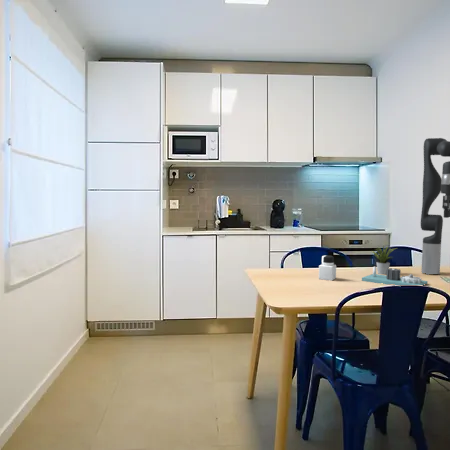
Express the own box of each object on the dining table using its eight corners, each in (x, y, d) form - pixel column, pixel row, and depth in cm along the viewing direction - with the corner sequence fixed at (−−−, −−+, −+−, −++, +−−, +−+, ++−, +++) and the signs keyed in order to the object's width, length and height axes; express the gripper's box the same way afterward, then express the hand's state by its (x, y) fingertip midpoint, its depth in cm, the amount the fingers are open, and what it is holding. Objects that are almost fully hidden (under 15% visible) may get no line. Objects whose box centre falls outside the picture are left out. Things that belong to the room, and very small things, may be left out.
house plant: (393, 271, 234) (395, 243, 233) (402, 276, 220) (403, 246, 219) (368, 270, 235) (369, 242, 234) (374, 275, 221) (375, 245, 220)
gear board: (373, 276, 218) (373, 264, 217) (427, 284, 200) (428, 270, 199) (361, 280, 206) (362, 267, 206) (418, 288, 189) (418, 274, 188)
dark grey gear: (389, 277, 208) (389, 267, 207) (401, 279, 203) (402, 269, 203) (384, 279, 203) (384, 269, 203) (397, 281, 199) (398, 271, 198)
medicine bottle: (336, 278, 212) (336, 255, 211) (332, 280, 205) (332, 257, 205) (322, 276, 215) (323, 254, 214) (318, 279, 209) (319, 256, 208)
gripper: (445, 184, 203) (443, 216, 204) (437, 183, 192) (435, 217, 193) (462, 184, 198) (460, 217, 199) (455, 183, 187) (453, 218, 188)
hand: (448, 217), depth 196 cm, fingers open, 8 cm apart
